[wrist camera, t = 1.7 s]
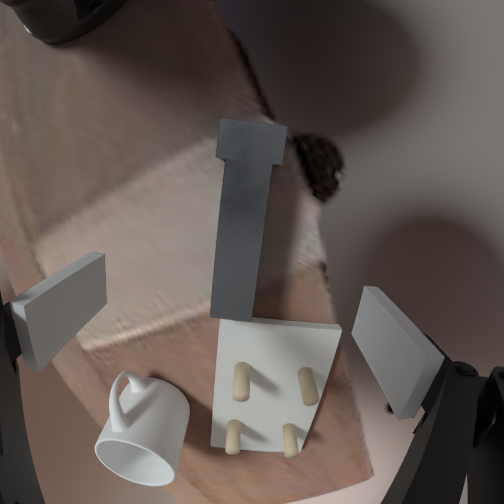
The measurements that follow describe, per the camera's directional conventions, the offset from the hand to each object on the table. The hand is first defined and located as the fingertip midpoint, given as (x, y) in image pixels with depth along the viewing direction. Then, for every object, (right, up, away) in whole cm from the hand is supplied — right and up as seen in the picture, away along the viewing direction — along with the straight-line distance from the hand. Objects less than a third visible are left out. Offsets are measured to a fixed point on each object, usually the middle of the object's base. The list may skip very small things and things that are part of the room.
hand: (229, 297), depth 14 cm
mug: (-11, -15, +18) cm, 26 cm away
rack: (+3, -14, +18) cm, 23 cm away
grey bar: (0, +5, +13) cm, 14 cm away
